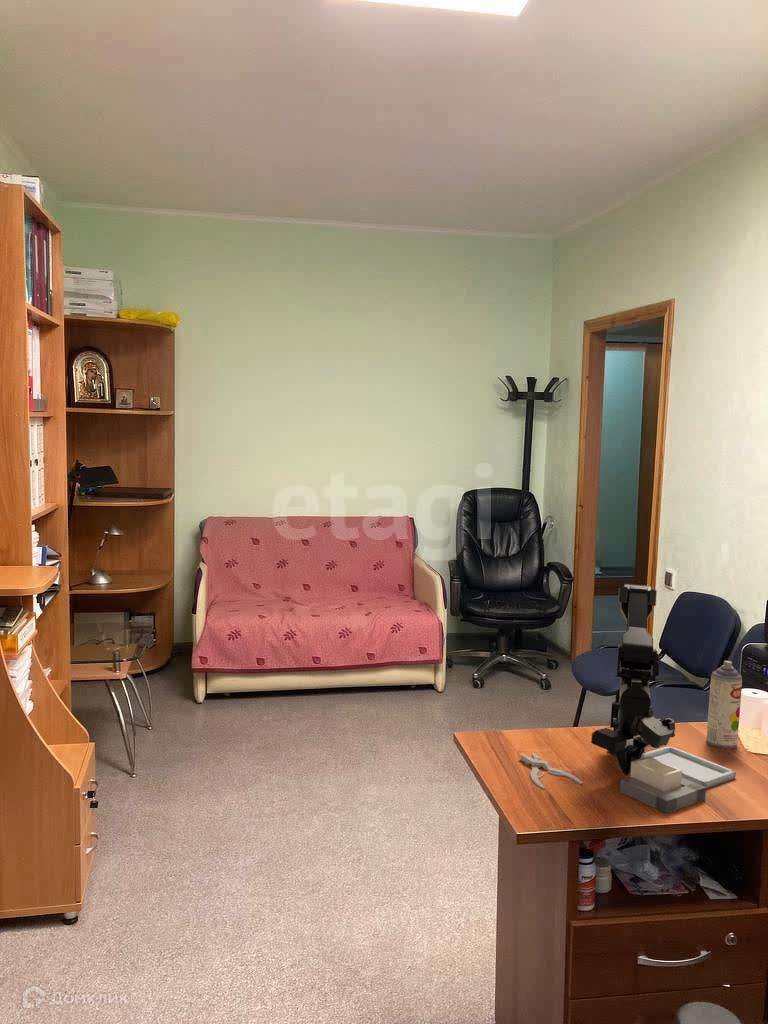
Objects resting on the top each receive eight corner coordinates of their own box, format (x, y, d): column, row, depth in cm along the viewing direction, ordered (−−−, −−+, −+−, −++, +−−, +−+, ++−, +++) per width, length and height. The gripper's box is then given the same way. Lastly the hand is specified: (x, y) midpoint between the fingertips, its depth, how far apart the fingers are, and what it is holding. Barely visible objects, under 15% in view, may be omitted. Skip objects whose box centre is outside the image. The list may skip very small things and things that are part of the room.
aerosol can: (730, 751, 188) (737, 667, 186) (701, 742, 192) (708, 661, 191) (741, 743, 193) (747, 662, 191) (712, 735, 197) (718, 656, 196)
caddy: (610, 778, 169) (611, 753, 169) (627, 773, 172) (629, 748, 172) (662, 802, 159) (664, 775, 158) (680, 796, 162) (682, 770, 161)
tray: (637, 761, 179) (638, 754, 179) (669, 751, 186) (669, 745, 186) (704, 789, 166) (704, 782, 166) (735, 778, 172) (735, 771, 172)
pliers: (542, 783, 162) (507, 755, 177) (541, 791, 163) (507, 762, 177) (584, 778, 166) (546, 751, 180) (583, 786, 166) (546, 758, 180)
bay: (619, 791, 163) (620, 779, 163) (658, 779, 170) (659, 767, 170) (666, 813, 154) (667, 801, 154) (705, 799, 161) (705, 787, 161)
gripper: (636, 719, 155) (631, 797, 157) (694, 705, 166) (689, 778, 167) (591, 703, 164) (587, 777, 166) (649, 690, 175) (644, 759, 176)
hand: (628, 773), depth 169 cm, fingers closed on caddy
